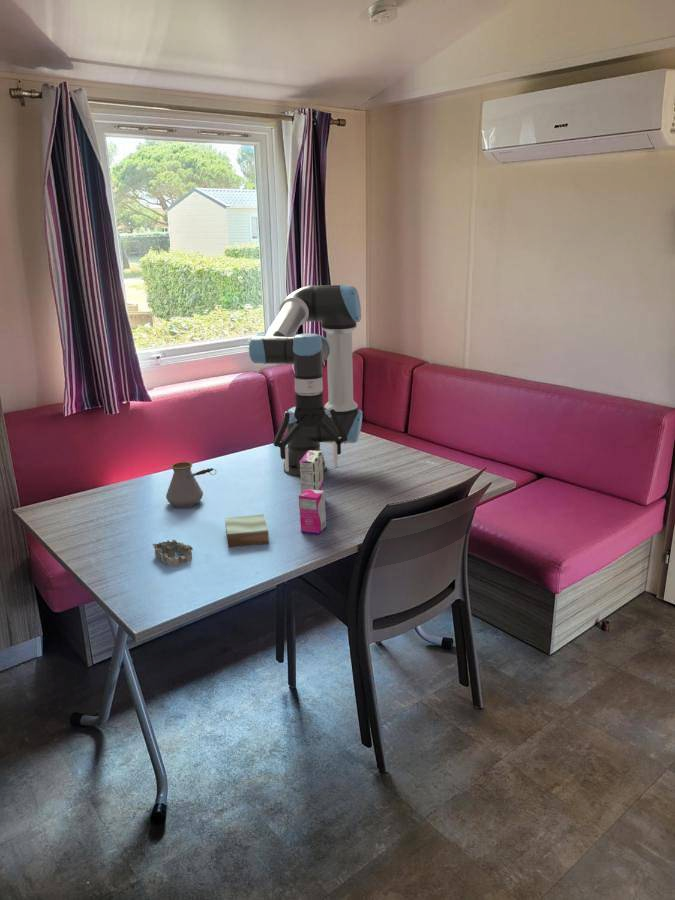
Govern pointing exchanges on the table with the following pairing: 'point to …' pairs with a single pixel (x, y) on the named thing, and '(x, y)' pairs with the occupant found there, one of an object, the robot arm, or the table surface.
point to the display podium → (246, 530)
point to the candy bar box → (311, 471)
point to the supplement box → (312, 511)
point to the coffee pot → (184, 486)
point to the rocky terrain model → (173, 552)
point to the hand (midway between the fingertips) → (311, 467)
